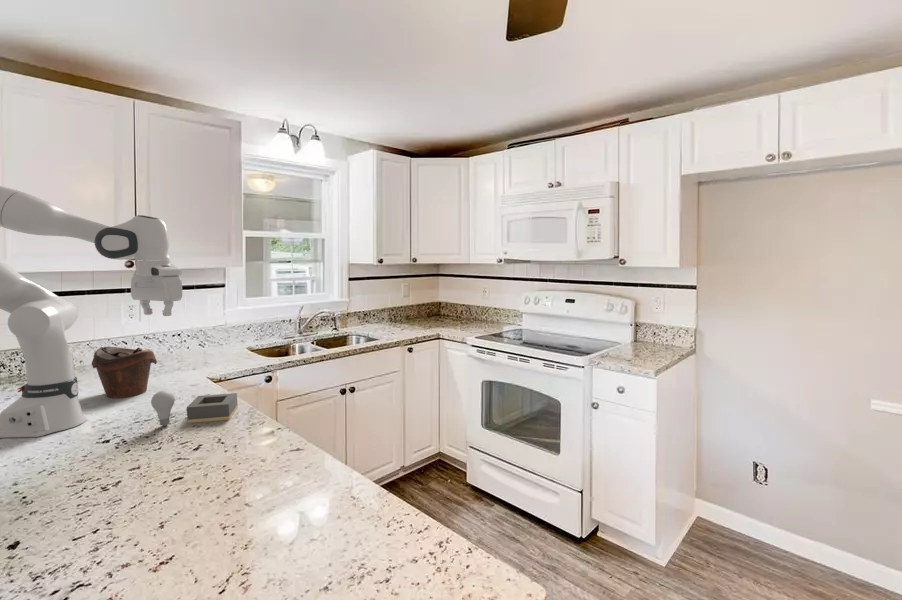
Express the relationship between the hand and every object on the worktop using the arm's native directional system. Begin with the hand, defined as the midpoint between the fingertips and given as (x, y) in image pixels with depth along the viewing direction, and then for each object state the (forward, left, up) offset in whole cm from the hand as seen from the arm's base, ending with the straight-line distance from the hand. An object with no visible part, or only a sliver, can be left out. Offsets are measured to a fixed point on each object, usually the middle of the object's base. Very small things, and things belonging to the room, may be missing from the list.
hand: (157, 315), depth 140 cm
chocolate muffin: (-26, +38, -34) cm, 57 cm away
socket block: (+13, +3, -34) cm, 36 cm away
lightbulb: (+1, -4, -34) cm, 34 cm away
